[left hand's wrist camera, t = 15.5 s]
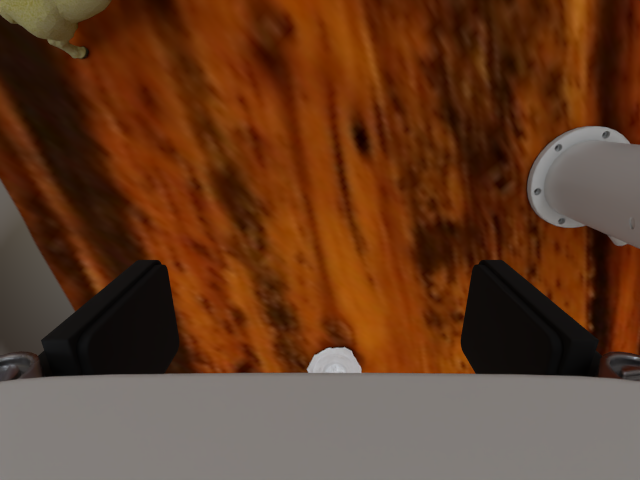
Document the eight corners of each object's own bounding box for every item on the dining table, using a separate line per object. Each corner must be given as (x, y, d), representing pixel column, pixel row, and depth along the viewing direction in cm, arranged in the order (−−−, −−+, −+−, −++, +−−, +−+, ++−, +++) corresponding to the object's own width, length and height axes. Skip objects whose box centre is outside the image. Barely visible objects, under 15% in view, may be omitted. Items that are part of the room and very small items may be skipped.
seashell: (327, 354, 58) (300, 396, 54) (325, 336, 55) (295, 379, 50) (371, 377, 55) (345, 424, 50) (371, 360, 51) (344, 409, 47)
